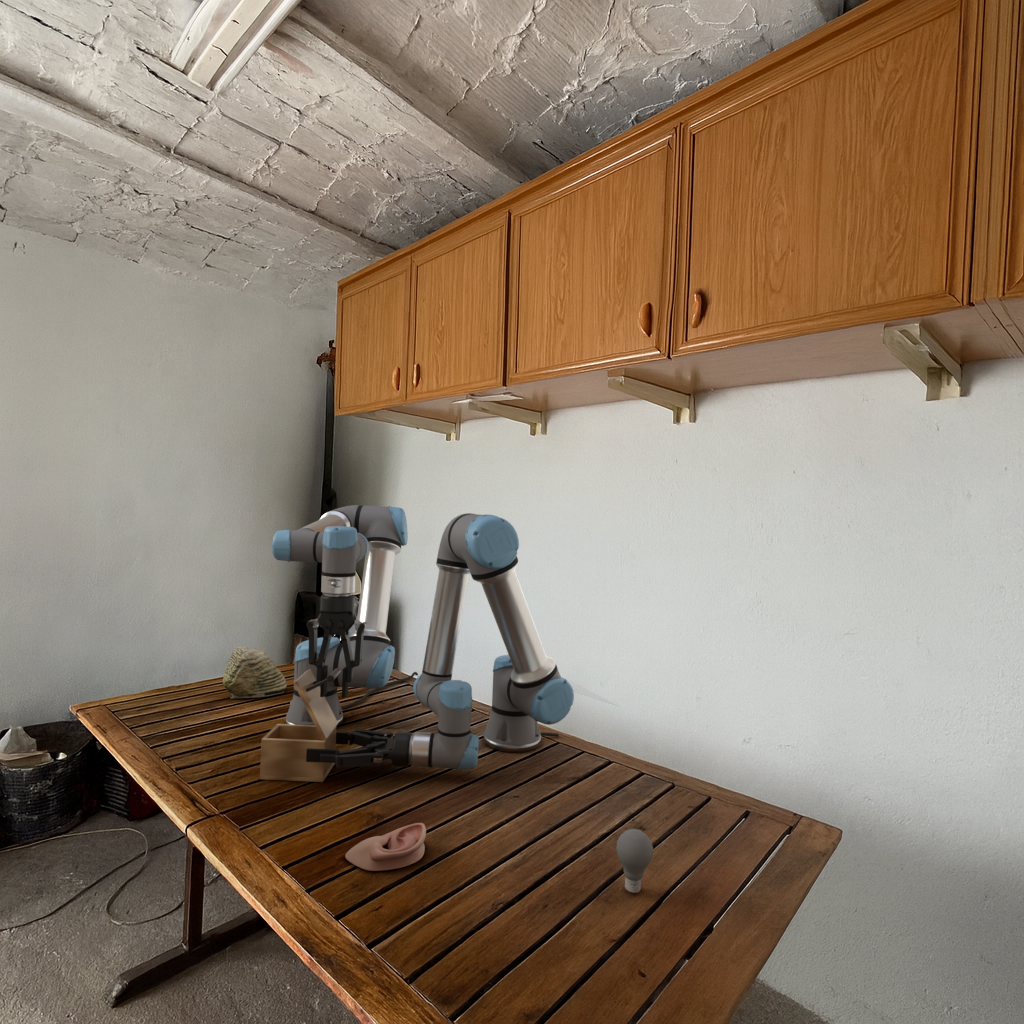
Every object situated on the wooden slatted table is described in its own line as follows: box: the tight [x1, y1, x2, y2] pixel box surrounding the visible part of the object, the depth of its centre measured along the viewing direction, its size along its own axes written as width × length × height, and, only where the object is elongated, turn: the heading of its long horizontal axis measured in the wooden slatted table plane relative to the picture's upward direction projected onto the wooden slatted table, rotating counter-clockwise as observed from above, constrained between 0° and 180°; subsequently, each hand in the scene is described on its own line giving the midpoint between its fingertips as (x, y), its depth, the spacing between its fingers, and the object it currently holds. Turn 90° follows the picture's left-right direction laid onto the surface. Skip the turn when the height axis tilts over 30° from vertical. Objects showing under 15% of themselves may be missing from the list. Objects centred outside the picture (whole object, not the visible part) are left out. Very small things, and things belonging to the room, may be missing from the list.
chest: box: [259, 723, 337, 783], centre depth 145 cm, size 14×10×9 cm
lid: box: [293, 668, 341, 740], centre depth 145 cm, size 14×10×8 cm
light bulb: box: [615, 828, 654, 894], centre depth 106 cm, size 6×6×10 cm
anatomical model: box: [344, 822, 427, 872], centre depth 113 cm, size 13×4×12 cm
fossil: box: [222, 646, 288, 699], centre depth 198 cm, size 9×18×15 cm, turn 132°
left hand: (334, 695), depth 145 cm, fingers open, 4 cm apart
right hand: (314, 745), depth 145 cm, fingers closed on chest, 10 cm apart
